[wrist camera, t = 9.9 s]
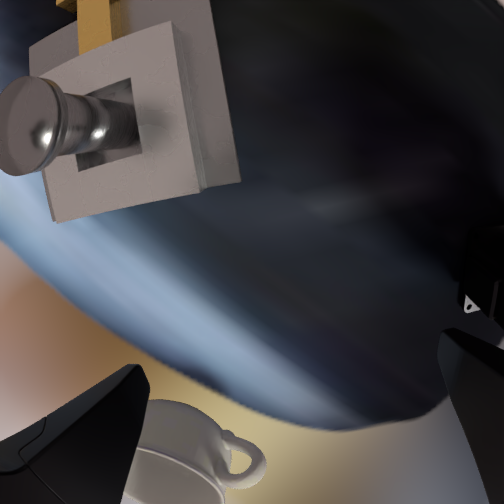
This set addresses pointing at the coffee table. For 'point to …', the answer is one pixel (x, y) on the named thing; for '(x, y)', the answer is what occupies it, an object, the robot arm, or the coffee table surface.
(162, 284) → the coffee table surface
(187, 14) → the knob backplate
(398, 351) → the coffee table surface
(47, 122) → the pin
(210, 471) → the teacup
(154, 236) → the coffee table surface
